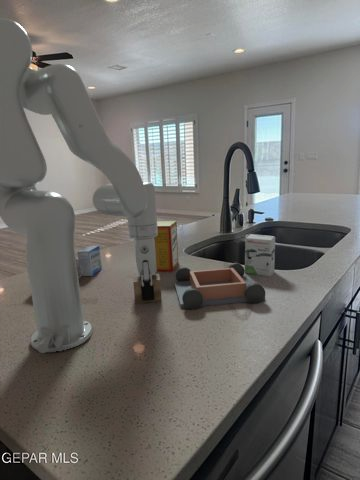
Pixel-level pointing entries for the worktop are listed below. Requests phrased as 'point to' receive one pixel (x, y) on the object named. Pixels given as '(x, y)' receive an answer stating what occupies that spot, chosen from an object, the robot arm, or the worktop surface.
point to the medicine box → (90, 260)
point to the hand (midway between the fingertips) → (148, 295)
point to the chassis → (216, 287)
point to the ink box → (259, 254)
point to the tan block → (138, 292)
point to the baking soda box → (166, 246)
